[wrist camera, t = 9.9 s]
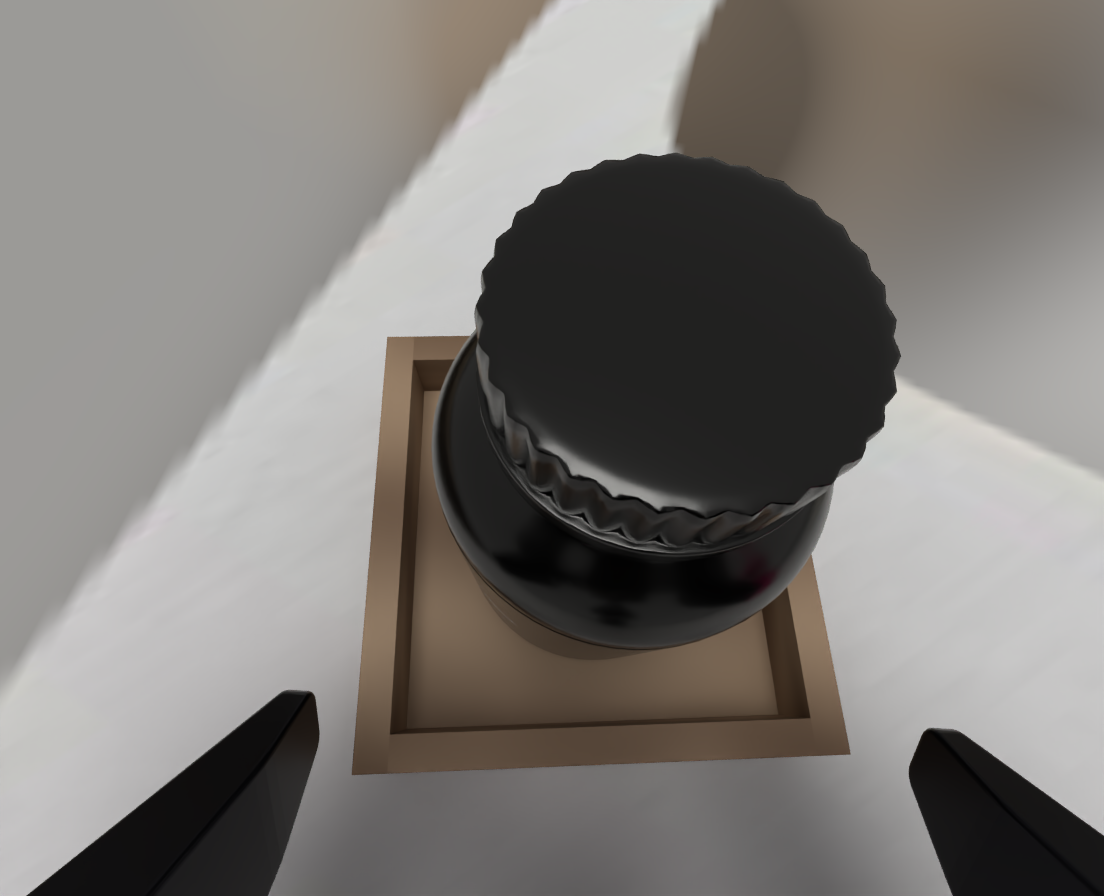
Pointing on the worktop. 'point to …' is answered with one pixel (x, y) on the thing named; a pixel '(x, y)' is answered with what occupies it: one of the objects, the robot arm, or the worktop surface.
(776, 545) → the supplement bottle
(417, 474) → the tray
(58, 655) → the worktop surface
